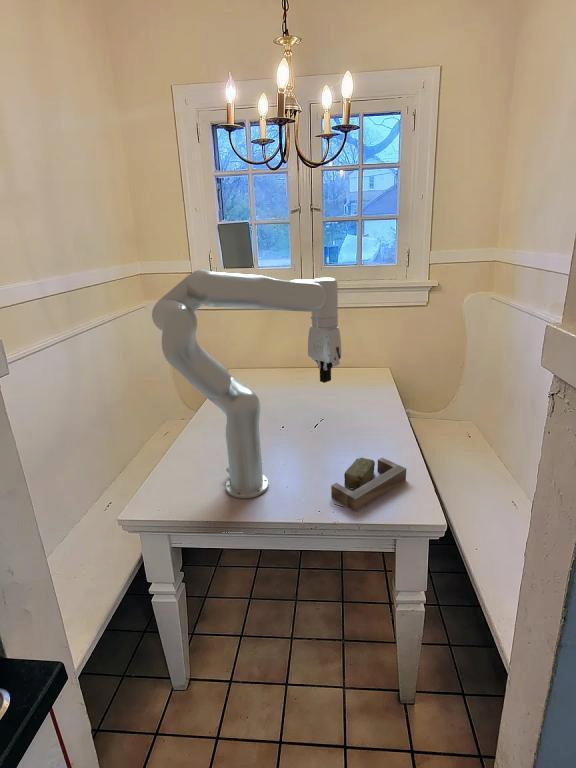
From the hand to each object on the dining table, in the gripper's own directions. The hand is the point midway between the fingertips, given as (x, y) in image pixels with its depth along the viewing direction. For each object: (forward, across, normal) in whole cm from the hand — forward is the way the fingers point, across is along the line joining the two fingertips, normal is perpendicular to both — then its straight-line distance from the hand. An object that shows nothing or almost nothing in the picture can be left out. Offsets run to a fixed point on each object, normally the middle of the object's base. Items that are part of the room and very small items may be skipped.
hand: (325, 381), depth 137 cm
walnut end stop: (+27, +20, -3) cm, 34 cm away
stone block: (+28, +15, -2) cm, 32 cm away
